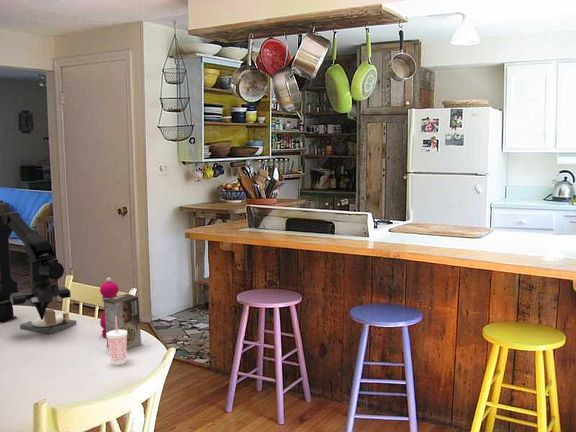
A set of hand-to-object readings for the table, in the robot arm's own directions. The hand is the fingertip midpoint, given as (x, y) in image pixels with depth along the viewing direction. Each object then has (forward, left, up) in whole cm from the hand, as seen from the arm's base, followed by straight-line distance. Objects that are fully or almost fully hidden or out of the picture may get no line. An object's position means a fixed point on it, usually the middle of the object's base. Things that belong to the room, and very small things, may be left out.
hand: (41, 319), depth 210 cm
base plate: (-4, +6, -5) cm, 8 cm away
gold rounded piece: (+3, +8, -3) cm, 9 cm away
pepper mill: (+24, +9, -5) cm, 26 cm away
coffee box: (+36, +2, -5) cm, 36 cm away
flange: (-3, +5, -3) cm, 6 cm away
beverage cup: (+44, -9, -5) cm, 45 cm away
